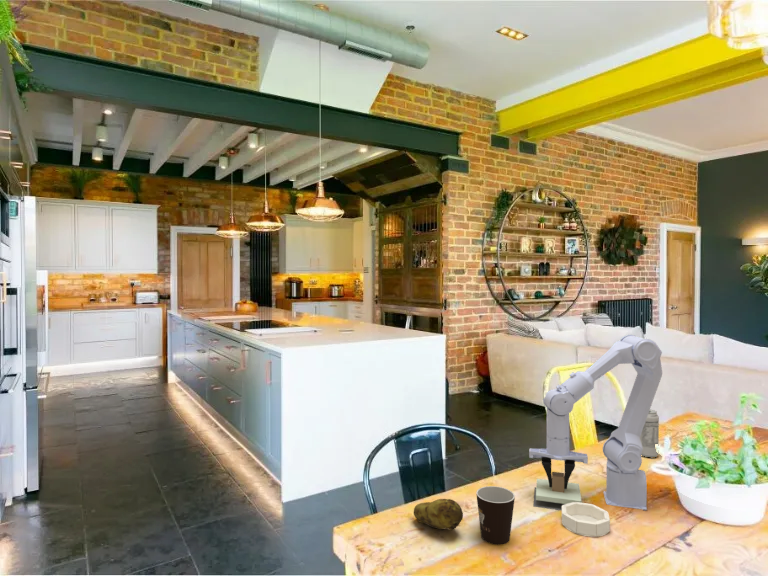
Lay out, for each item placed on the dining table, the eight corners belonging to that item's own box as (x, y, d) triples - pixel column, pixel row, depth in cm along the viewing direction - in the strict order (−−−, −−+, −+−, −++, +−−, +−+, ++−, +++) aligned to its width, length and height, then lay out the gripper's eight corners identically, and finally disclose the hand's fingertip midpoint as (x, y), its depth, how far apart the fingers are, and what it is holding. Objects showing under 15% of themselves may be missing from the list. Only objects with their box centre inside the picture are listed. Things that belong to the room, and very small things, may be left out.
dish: (606, 519, 120) (606, 506, 120) (611, 541, 110) (611, 526, 110) (561, 513, 123) (561, 499, 123) (562, 533, 113) (562, 519, 113)
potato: (438, 513, 124) (438, 482, 123) (468, 538, 112) (468, 503, 112) (409, 520, 120) (409, 488, 120) (437, 546, 108) (437, 511, 108)
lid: (579, 488, 133) (579, 469, 133) (581, 506, 123) (581, 485, 123) (536, 482, 137) (536, 464, 137) (535, 499, 126) (535, 480, 126)
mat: (580, 494, 134) (580, 493, 134) (583, 514, 122) (583, 513, 122) (534, 488, 138) (534, 487, 138) (533, 507, 126) (533, 506, 126)
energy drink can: (656, 453, 164) (657, 409, 164) (659, 460, 158) (660, 414, 158) (636, 451, 166) (637, 407, 166) (638, 457, 161) (639, 412, 160)
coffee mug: (515, 549, 107) (516, 504, 107) (475, 545, 109) (476, 501, 109) (512, 523, 118) (512, 482, 118) (476, 519, 120) (476, 479, 120)
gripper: (528, 438, 128) (528, 489, 128) (588, 443, 123) (588, 496, 124) (529, 429, 135) (529, 478, 135) (586, 434, 130) (586, 485, 130)
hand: (558, 486), depth 130 cm, fingers closed on lid, 3 cm apart
